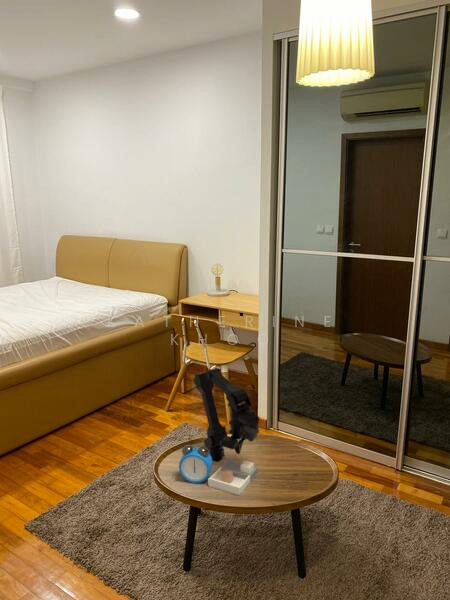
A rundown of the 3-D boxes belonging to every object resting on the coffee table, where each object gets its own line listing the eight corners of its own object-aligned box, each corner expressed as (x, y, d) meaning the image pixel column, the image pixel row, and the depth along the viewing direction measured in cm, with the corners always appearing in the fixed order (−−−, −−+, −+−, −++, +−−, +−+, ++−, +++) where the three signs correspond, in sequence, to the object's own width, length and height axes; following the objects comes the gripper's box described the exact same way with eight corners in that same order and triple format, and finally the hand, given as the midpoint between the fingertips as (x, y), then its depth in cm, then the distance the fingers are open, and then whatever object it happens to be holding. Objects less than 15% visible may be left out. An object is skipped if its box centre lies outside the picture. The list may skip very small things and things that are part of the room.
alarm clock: (179, 482, 188) (177, 448, 185) (183, 473, 194) (181, 441, 191) (210, 485, 186) (209, 451, 183) (213, 476, 192) (212, 443, 189)
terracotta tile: (224, 477, 190) (221, 480, 188) (224, 468, 189) (221, 471, 187) (233, 480, 188) (230, 483, 186) (232, 471, 187) (230, 474, 185)
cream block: (240, 471, 191) (240, 465, 190) (244, 466, 195) (244, 460, 194) (249, 473, 189) (249, 468, 189) (253, 468, 193) (253, 463, 192)
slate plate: (220, 473, 194) (220, 468, 193) (229, 464, 201) (229, 458, 200) (250, 482, 187) (250, 476, 187) (258, 472, 194) (258, 466, 194)
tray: (208, 486, 185) (208, 478, 185) (220, 473, 194) (220, 466, 193) (239, 495, 179) (239, 487, 178) (250, 482, 187) (250, 474, 187)
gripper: (244, 433, 175) (244, 470, 179) (265, 414, 191) (265, 448, 194) (219, 426, 181) (220, 462, 184) (242, 408, 197) (242, 441, 200)
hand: (238, 453), depth 191 cm, fingers closed
